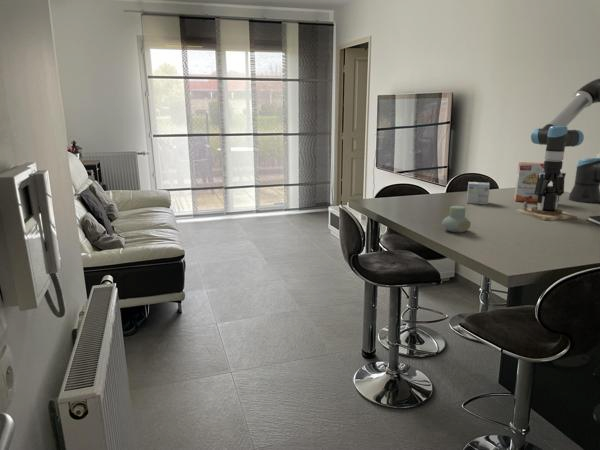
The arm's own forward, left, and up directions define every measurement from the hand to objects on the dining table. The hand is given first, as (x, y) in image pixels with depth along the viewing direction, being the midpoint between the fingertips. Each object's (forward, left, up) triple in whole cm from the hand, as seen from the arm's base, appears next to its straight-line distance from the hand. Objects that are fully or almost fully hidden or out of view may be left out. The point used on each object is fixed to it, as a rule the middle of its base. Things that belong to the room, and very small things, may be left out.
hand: (546, 209), depth 215 cm
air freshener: (+58, +15, -3) cm, 60 cm away
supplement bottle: (0, 0, -1) cm, 1 cm away
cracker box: (-16, -30, -3) cm, 34 cm away
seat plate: (0, 0, -3) cm, 3 cm away
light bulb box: (+14, -33, -3) cm, 36 cm away
